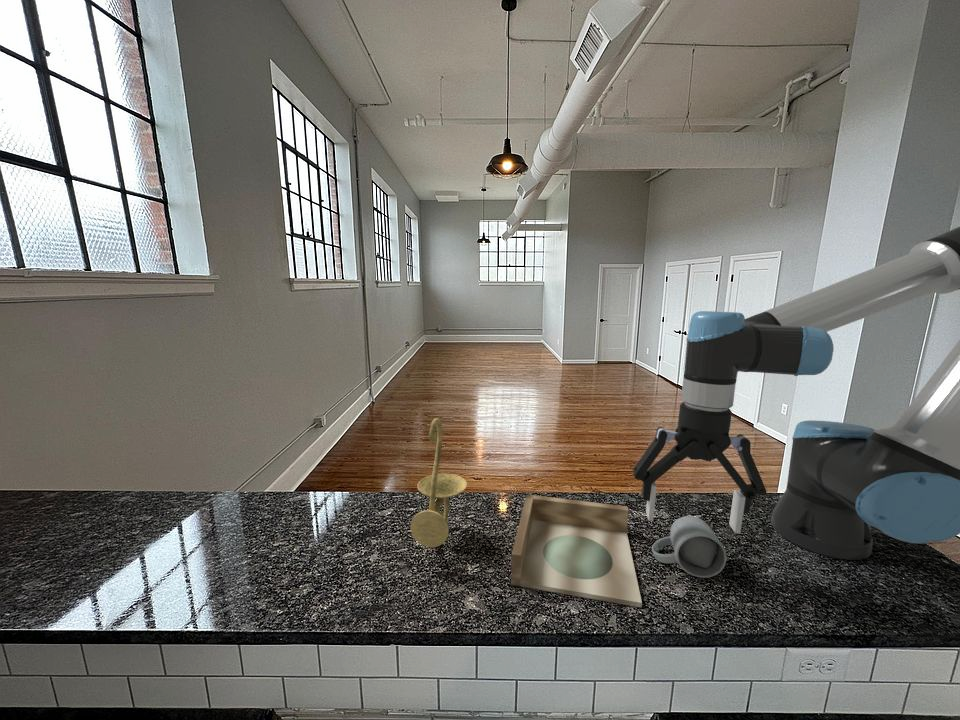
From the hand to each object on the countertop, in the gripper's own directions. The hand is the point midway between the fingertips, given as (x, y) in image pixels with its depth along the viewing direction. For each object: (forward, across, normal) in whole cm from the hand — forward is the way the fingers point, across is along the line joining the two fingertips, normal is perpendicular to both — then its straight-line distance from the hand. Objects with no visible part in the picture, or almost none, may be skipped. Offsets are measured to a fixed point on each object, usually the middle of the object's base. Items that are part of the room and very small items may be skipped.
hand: (691, 523), depth 69 cm
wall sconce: (+9, +44, +5) cm, 46 cm away
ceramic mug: (+8, 0, 0) cm, 8 cm away
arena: (+8, +19, +3) cm, 21 cm away
